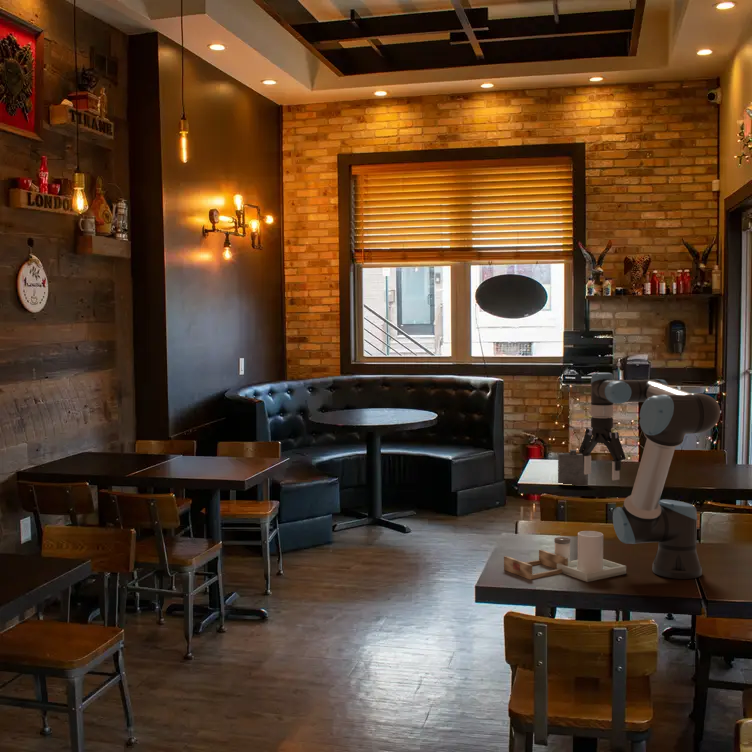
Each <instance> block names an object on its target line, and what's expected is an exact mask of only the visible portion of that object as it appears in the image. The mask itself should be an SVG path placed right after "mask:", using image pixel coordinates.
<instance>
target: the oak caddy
mask: <svg viewBox="0 0 752 752" xmlns="http://www.w3.org/2000/svg"><path fill="white" fill-rule="evenodd" d="M558 563H562V564H563V565H566V566H568V558H565V557H562V556H559V555H556V554H555V553H552V552H550V551H548V550H547V551H546V550H544V549H538V559H535V560H531V561H525V562H524V561H522V560H519V559H516V558H514V557H511V556H508V555H505V556H503V570H504V571H506V572H509V573H511V574H514V575H516V576H520V577H522V578H525V579H527V580H534V579H535V580H536V579H538V578H539V579H540V578H543V577H544V578H545V577H548V576H549V577H550V576H554V575H558V574H563V573H562V569H557V564H558ZM536 565H543V566H546V567H549V568H552V570H547V571H541V572H536V573H533V566H536Z"/></svg>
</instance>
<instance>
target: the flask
mask: <svg viewBox="0 0 752 752" xmlns="http://www.w3.org/2000/svg"><path fill="white" fill-rule="evenodd" d="M577 451H578V450H577V449H569V452H564V453H557V484H558V483H563V484H572V485H588V486H589V474H586V475H585V474H584V464H583V455H582V454H581V453H577Z"/></svg>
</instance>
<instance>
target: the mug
mask: <svg viewBox="0 0 752 752" xmlns="http://www.w3.org/2000/svg"><path fill="white" fill-rule="evenodd" d="M603 559H604V534H603V532H600V531H596V530H582V531H579V532H577V560H578V562H577V569H578V570H580V571H583V572H586V573H589V572H594V571H599V570H603Z"/></svg>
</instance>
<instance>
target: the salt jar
mask: <svg viewBox="0 0 752 752" xmlns="http://www.w3.org/2000/svg"><path fill="white" fill-rule="evenodd" d="M553 540H554V541H553V542H554V554H556V555H559V556H562V557H565V558H568V561H571V538H569V537H563V536H562V537H561V536H560V537H559V536H558V537H554V539H553Z"/></svg>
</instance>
